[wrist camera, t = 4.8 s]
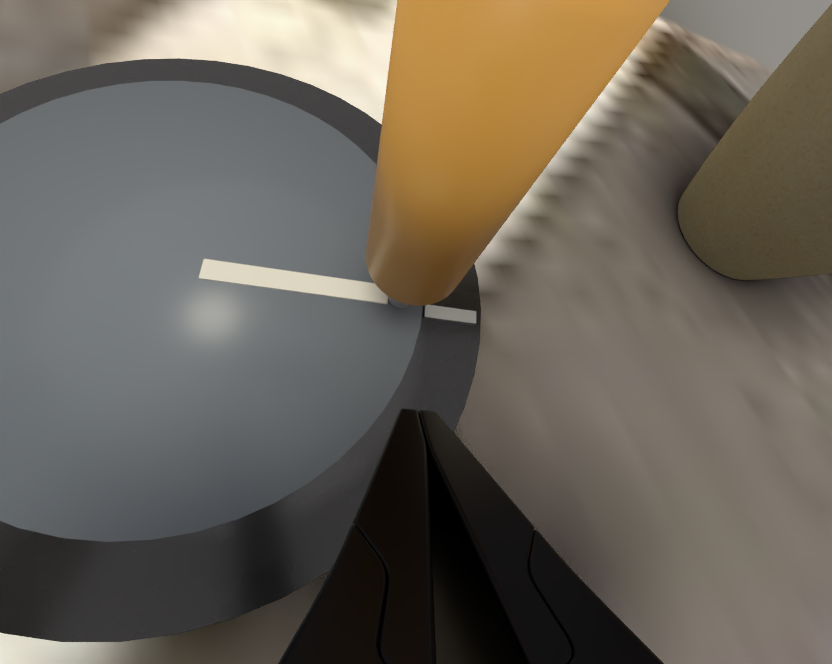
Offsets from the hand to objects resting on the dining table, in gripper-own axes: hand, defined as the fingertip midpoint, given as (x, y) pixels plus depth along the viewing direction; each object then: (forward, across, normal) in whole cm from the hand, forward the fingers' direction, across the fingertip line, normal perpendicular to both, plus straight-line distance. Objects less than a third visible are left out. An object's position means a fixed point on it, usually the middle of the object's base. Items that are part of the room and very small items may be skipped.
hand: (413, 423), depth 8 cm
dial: (+8, +8, +1) cm, 11 cm away
